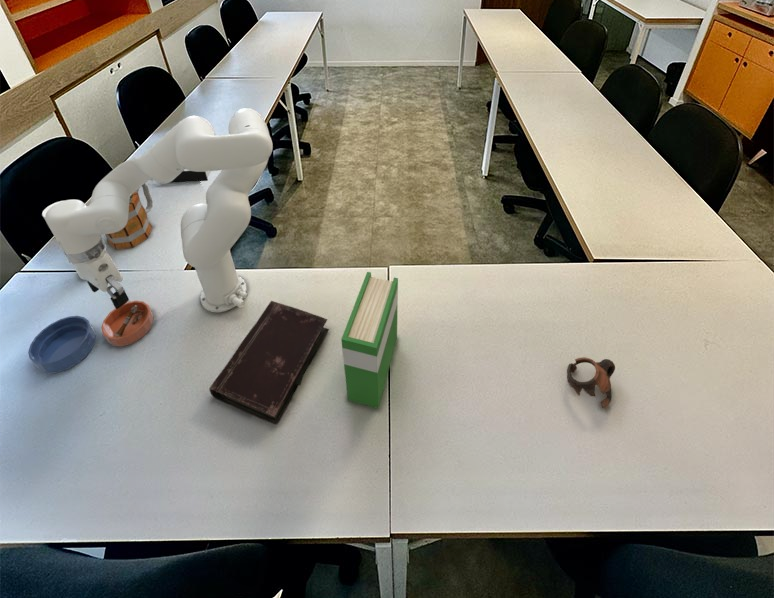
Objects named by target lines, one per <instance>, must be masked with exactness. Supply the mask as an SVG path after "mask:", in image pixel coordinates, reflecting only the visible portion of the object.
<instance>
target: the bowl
mask: <svg viewBox="0 0 774 598" xmlns="http://www.w3.org/2000/svg"><path fill="white" fill-rule="evenodd" d="M96 340H97V334H96V330H95V329H94V327H93V325H92V323H91V322H90V320H88V319H87V318H86V317H85V316H81V315H71V316H66V317H63V318H60V319H58V320H55V321H53V322H51V323H50V324H49V325H47V326H46V327H45V328H43V329H42V330H41V331H40V332H39V333H38V334H37V335H36V336H35V337H34V338H33V340H32V341H31V343H30V344H29V348H28V352H27V354H28V358H29V360H30V361H31V363H33V365H34V366H35V367H36V368H37V369H38V370H39V372H41V373H46V374H56V373H60V372H63V371H65V370H68V369H70V368H72V367H73V366H75V365H77V364H78V363H79V362H81V361H82V360H83V359H84V358H85V357H86V356H87V355H88V354H89V353H90V352H91V351H92V349H93V347H94V345H95V343H96Z"/></svg>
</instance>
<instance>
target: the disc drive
mask: <svg viewBox="0 0 774 598" xmlns="http://www.w3.org/2000/svg"><path fill="white" fill-rule="evenodd" d="M211 172H212V171H207V172H196V171H190V170H187V169H185V170H184V171H182V172H181V173H180V174H179V175H178V176H177V177H176V178H175V179H174V180H173V181H171V182H170V183H169V184H176V183H192V182H193V183H194V182H195V183H196V182H208V180H209V177H210V174H211Z"/></svg>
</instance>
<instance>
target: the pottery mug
mask: <svg viewBox="0 0 774 598" xmlns="http://www.w3.org/2000/svg"><path fill="white" fill-rule="evenodd" d="M574 361H575V362H574V363H569V364H568V365H567V369H566V380H567V383H568V385H569V387H570V388H572V389H573V390H574V391H575V392H576V394H577V395H578V396H580V395H581V392H582V391H584V392H585V394H586V395H587V394H588V396H590V397H596V396H597V395H596V387H598V389H599V392H600V393H601V394H603V395H606V397H605V398H604V399H603V400H602V401H601V402H600V405H601V407H602V409H606V408H607V407H608V406H609V405H610V404H611V402H612V398H613V395H612V383H611V377H612V376H613V374H614V373H615V370H616V366H615V365H616V364H615V363H614V361H612V360H611V359H608V358H604V359H602V360H601V361H599V362H596V361H595V360H594V359H591V358H588V357H577V358H575V359H574ZM584 363H587V364H590V365H592V366H593V367H594V368H595V369H594V370H595V374H594V376H593V378H591V379H590V380H587V381H579V380H576V379H575V378H574V377H573V375H572V374H573V373H575V372H576V371H577V366H578V365H579V364H584Z"/></svg>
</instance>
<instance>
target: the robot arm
mask: <svg viewBox="0 0 774 598" xmlns="http://www.w3.org/2000/svg"><path fill="white" fill-rule="evenodd" d="M273 148H274V146H273V140H272V137H271V135H270V130H269V128H268V125H267V122H266V121H265V119H264V118H263V116H262V115H261V114H260V113H259V112H258V111H256V109H253V108H249V107H244V108H240V109H238V110H237V111H235V112H234V113H233V114H232V116H231V117H230V119H229V122H228V134H222V135H221V134H219V135H216V131H215V129H214V126H213V125H212V123H211V122H210V121H208V120H207V119H206V118H204V117H202V116H200V115H189V116H187V117H185V118H183V119H181V120H180V121H178V122H177V123H176V124H175V125H174V126H173V127H172V128H171V129H169V130H168V131H167V132H166V133H165V134H164V135H163V136H161V137H160V138H159V139H158V140H157V141H156V142H154V144H152V145H151V146H150V147H149V148H148V149H147V150H145V151H144V152H143V153H142V154H141V155H138V156H136V157H132V158H130V159H128V160H126V161H123V162H122V163H119V164H118V165H117V166H116V167H115V168H113V169H112V170H111V171H109V172H108V173H107V174H106V175H105V176H104V177H103V178H102V179H100V181H99V182H98V183H97V184H96V185H95V187H94V189H93V190H92V194H91V198H90V202H89V205H86V204H85V202H83V201H82V200H80V199H66V200H61V201H62V202H59V201H58V202H59V203H57V204H55V205H54V206H52V207H51V208H50V209H49V210H48V211H47V213H46V215H45V219H44V220H45V222H46V225H47V227H48V228H49V229H50V231H51V233H52V234H53V236H54V238H55V240H56V241H57V244H58V245H59V247H60V248H61V250H62V252H63V254H64V255H65V257H66V259H67V261H68V262H69V263H70V264H71V265H72V264H74V265H76V266H77V268H78V270H79V272H80V273H81V275H82V276H83V277H84V278H85V279H86V282H87V284H88V286H89V288H90V290H91V291H92V292H93V293H96V292H98V291H101V292H104V293H107V294H108V295H109V296H110V298H109V299H110V300H111V303H112V305H113V306H114V309H115V308H116V309H119V308H120V307H121V306H123V305H124V304H125V303H127V302H130V297H129V296H128V294H127V293H126V290H125V288H124V286H123V285H122V284H120V283H121V282H122V281H123V280H124V277H123V276H122V274H121V272H120V270H119V268H118V267H117V265H116V263H115V261H114V260H113V259H112V257H111V256H110V254H109V253H108V251H107V250H106V248H107V245H106V243H105V241H104V238H103V237H102V235H105V234H111V233H115V232H118V231H120V230H122V229H123V228H124V227H125V226H126V224H127V221H128V213H129V200H130V196H131V195H132V194H133V193H134V192H135V191H136V190H137V189H138V188H139V189H140V188H142V185H143V184H144V183H145V184H146V183H148V182H149V181H151V180H153V181H154V182H157V183H159V184H163V185H164V184H171V183H170V182H171V181H173V180H174V179H175V178H176V177H177V176H178V175H179V174H180V173H181V172H182V171H184V170H185V169H187V170H190V171H196V172H207V171H211V172H215V171H216V172H217V171H220V172H219V173H218V175H216V177H215V178H214V180H213V181H212V183H210V184H209V186H208V187H207V189H206V192H205V202H206V203H196V204H194V205H193V204H192V205H191V206H190V207H188V208H187V209H186V210H185V211H184V212H183V215H182V216H181V219H180V237H181V248H182V254H183V258H184V260H185V261H186V263H187V264H188V265H189V266H190V267H192V268H194V270H195V272H196V275H197V277H198V280H199V283H200V285H201V288H202V290H201V293H200V299H199V300H200V303H201V305H202V307H203V308H204V309H205V310H206V311H207V312H211V313H223V312H228V311H230V310H232V309H233V308H235V307H238V308H240V309H241V308H243V307H245V304H246V302H245V300H243V299H246V298H247V297H248V295H249V293H247V283H246V280H245V279H244V278H243V277H241V276H240V275H238V274H237V270H236V266H235V263H234V260H233V256H232V253H231V249H232V247H234V245H235V244H236V242H237V241H238V240H239V239H240V237H241V236H242V235H243V234H244V232H245V231H246V230H247V228H248V226H249V224H250V222H251V219H252V209H251V205H250V201H249V195H250V192H251V191H252V189H253V188H254V186H255V185H256V183H257V182H258V181H259V179H260V177H262V175H263V173H264V171H265V169H266V167H267V165H268V162H269V158H270V157H271V155H272V152H273ZM112 289H114V291H115V292H112Z"/></svg>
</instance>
